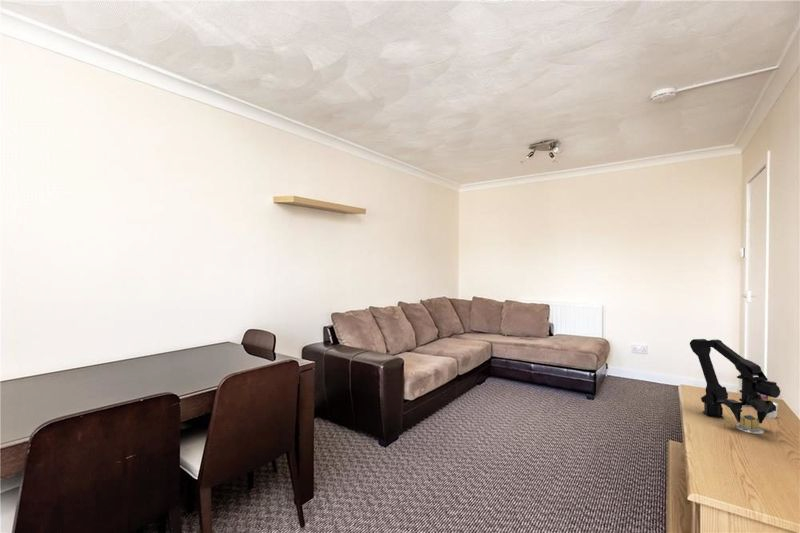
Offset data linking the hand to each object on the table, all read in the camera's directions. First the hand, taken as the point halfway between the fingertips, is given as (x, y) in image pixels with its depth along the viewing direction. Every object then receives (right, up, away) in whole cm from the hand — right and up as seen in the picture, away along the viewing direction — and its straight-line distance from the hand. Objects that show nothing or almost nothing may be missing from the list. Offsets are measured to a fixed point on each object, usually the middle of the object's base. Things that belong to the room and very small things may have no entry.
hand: (749, 422), depth 175 cm
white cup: (+25, -3, +15) cm, 29 cm away
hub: (0, -3, 0) cm, 3 cm away
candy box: (+30, -3, +26) cm, 40 cm away
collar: (0, -2, 0) cm, 2 cm away
